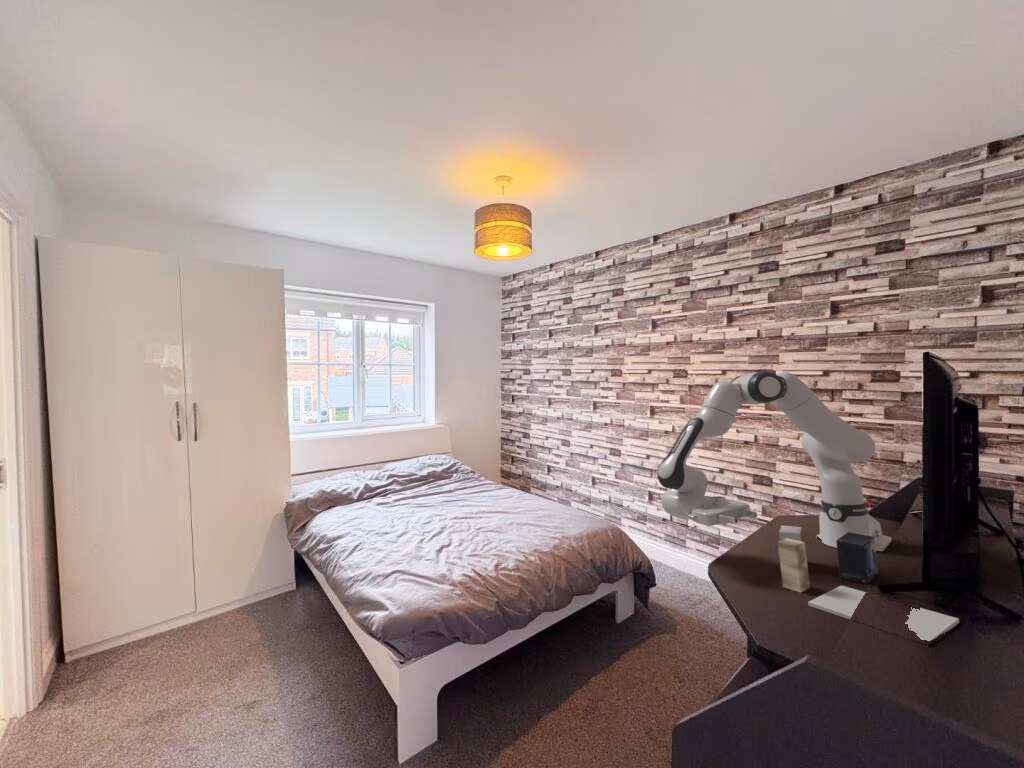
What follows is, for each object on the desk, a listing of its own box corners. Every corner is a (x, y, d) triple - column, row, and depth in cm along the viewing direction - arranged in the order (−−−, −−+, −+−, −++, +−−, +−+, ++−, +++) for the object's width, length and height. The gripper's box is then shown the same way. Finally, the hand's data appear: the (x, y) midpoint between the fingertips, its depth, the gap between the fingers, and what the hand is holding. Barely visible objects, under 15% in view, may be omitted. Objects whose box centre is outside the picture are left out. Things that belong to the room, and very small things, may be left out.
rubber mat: (841, 588, 110) (841, 585, 110) (959, 622, 91) (958, 618, 91) (808, 605, 102) (807, 602, 103) (928, 646, 83) (928, 642, 83)
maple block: (792, 582, 115) (787, 538, 116) (810, 588, 111) (804, 542, 112) (782, 586, 113) (777, 541, 114) (800, 592, 109) (795, 545, 110)
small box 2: (869, 585, 111) (864, 545, 111) (839, 578, 116) (834, 540, 117) (880, 573, 117) (875, 535, 118) (851, 568, 122) (846, 531, 123)
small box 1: (805, 570, 123) (800, 533, 124) (782, 567, 126) (778, 531, 127) (806, 561, 129) (802, 526, 130) (784, 558, 133) (781, 524, 133)
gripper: (682, 505, 132) (722, 512, 120) (724, 495, 141) (765, 501, 129) (684, 525, 131) (724, 535, 119) (726, 514, 141) (767, 522, 129)
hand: (746, 517), depth 124 cm, fingers open, 8 cm apart
